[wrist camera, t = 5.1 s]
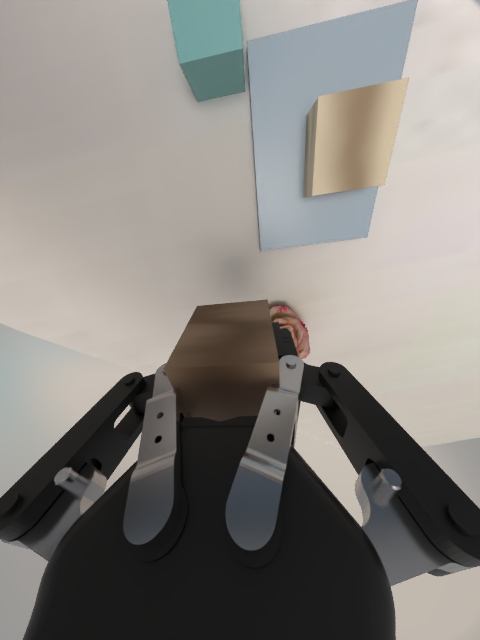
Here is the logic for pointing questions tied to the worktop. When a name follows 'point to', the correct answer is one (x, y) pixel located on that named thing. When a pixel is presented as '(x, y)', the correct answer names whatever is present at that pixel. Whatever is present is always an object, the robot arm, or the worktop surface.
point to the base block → (352, 138)
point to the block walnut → (225, 360)
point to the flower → (292, 328)
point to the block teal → (209, 45)
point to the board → (295, 103)
